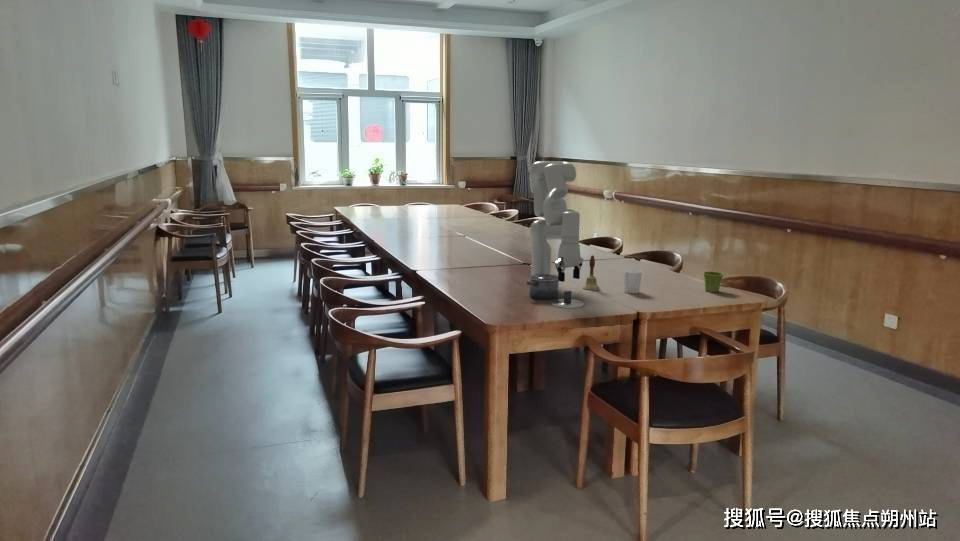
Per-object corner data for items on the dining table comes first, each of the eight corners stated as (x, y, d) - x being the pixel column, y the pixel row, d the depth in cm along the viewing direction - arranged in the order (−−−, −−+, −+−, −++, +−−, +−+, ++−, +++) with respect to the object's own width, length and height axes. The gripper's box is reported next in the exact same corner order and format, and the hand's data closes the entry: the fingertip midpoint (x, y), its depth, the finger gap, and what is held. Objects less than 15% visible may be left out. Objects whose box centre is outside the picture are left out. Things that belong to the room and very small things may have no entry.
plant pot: (724, 290, 308) (725, 272, 307) (720, 294, 300) (721, 276, 299) (704, 288, 313) (705, 270, 311) (699, 291, 305) (701, 273, 303)
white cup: (628, 294, 298) (629, 273, 296) (620, 290, 306) (621, 270, 304) (643, 293, 300) (644, 272, 298) (635, 289, 308) (636, 269, 306)
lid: (565, 299, 289) (566, 286, 288) (590, 305, 279) (591, 292, 278) (544, 304, 280) (545, 290, 279) (568, 310, 270) (569, 296, 269)
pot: (546, 290, 303) (546, 272, 301) (567, 296, 293) (568, 276, 292) (519, 296, 292) (519, 277, 290) (540, 302, 282) (541, 282, 280)
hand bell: (579, 287, 312) (580, 254, 309) (594, 285, 315) (595, 253, 312) (587, 290, 304) (589, 257, 301) (603, 289, 307) (604, 256, 304)
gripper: (576, 237, 282) (575, 276, 285) (549, 241, 271) (548, 281, 274) (590, 239, 276) (588, 278, 279) (563, 243, 265) (561, 283, 268)
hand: (568, 279), depth 277 cm, fingers open, 9 cm apart
